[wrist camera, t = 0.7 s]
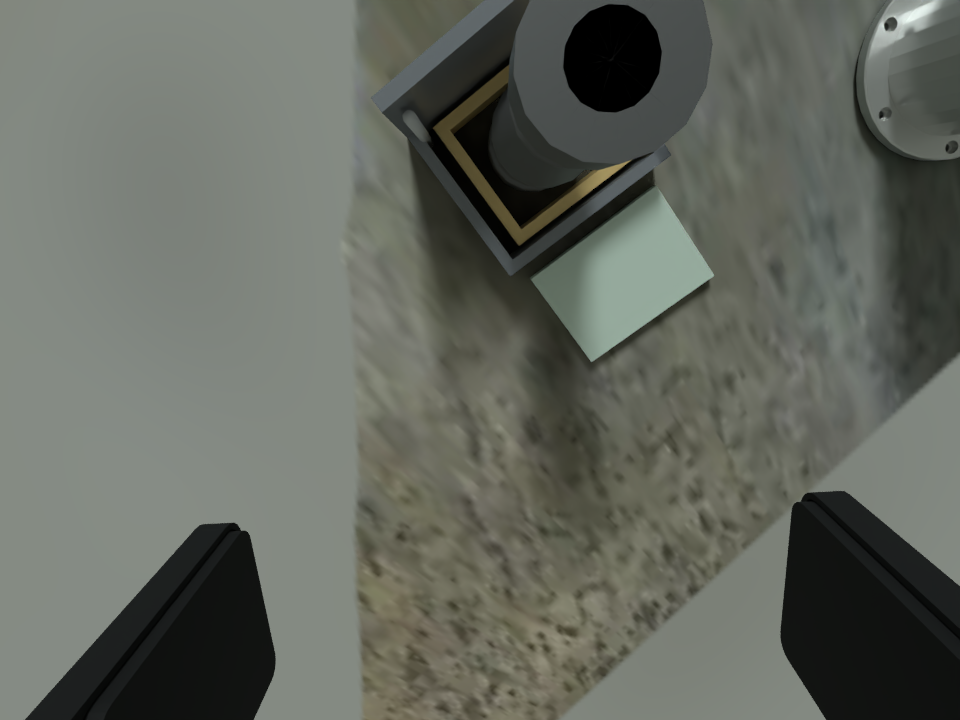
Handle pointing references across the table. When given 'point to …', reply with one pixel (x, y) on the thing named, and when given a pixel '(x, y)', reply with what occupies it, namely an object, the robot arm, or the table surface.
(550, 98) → the candle holder
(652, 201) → the sage pad
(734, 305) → the table surface
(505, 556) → the table surface
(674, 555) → the table surface
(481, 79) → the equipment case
